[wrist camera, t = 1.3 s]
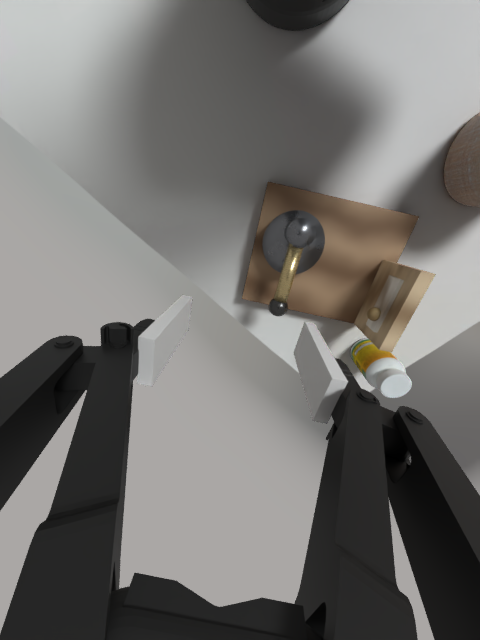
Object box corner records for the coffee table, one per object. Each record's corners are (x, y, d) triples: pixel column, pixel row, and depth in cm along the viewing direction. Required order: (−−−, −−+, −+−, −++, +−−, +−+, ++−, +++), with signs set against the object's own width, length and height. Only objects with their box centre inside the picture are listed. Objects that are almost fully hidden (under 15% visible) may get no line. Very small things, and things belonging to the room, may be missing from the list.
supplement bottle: (388, 349, 39) (426, 386, 30) (362, 368, 41) (392, 408, 32) (367, 330, 38) (401, 363, 29) (342, 351, 40) (367, 387, 31)
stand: (267, 184, 30) (271, 167, 21) (409, 217, 31) (474, 214, 22) (242, 295, 37) (237, 318, 28) (360, 321, 37) (394, 353, 28)
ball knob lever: (270, 204, 30) (273, 200, 24) (329, 218, 30) (345, 217, 24) (248, 298, 35) (246, 312, 30) (298, 309, 35) (305, 325, 30)
